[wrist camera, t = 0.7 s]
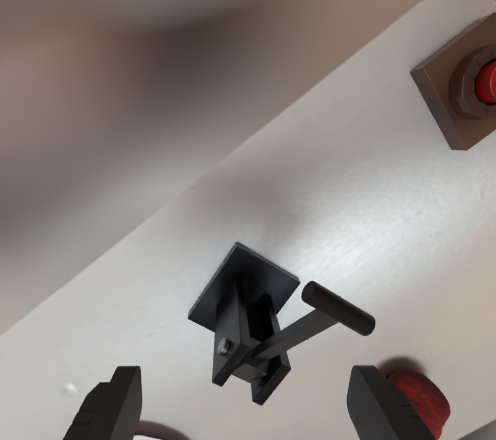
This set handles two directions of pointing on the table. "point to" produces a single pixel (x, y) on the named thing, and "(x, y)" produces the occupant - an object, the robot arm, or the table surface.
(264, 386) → the lever stand
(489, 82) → the button
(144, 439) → the plate
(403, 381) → the apple
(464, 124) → the control block
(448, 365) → the table surface
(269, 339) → the black lever
